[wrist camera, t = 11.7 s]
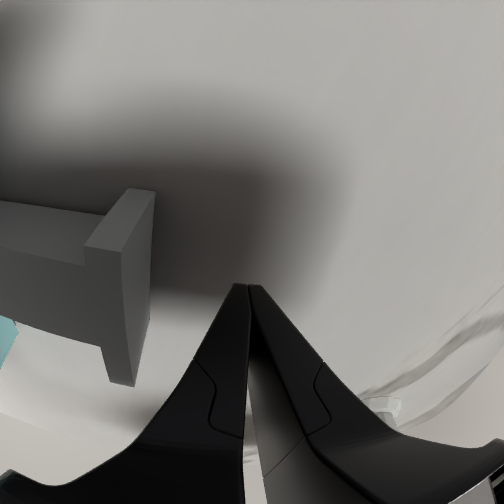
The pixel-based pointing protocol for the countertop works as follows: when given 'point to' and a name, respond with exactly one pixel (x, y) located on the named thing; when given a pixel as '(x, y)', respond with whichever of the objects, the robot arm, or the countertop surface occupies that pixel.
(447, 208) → the countertop surface
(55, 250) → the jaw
